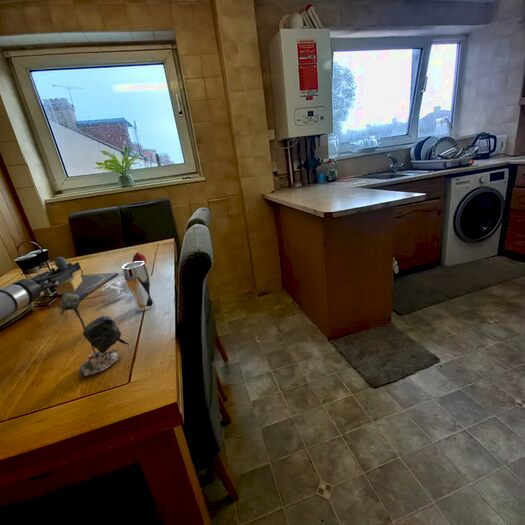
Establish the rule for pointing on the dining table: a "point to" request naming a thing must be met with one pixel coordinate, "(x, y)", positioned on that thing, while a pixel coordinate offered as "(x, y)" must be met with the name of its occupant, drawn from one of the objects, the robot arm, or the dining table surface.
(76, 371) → the dining table surface
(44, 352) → the dining table surface
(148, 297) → the beer glass
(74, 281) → the rubber stamp
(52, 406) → the dining table surface
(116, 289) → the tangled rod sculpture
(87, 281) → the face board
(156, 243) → the dining table surface
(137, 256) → the onion
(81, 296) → the ink pad
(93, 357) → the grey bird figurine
